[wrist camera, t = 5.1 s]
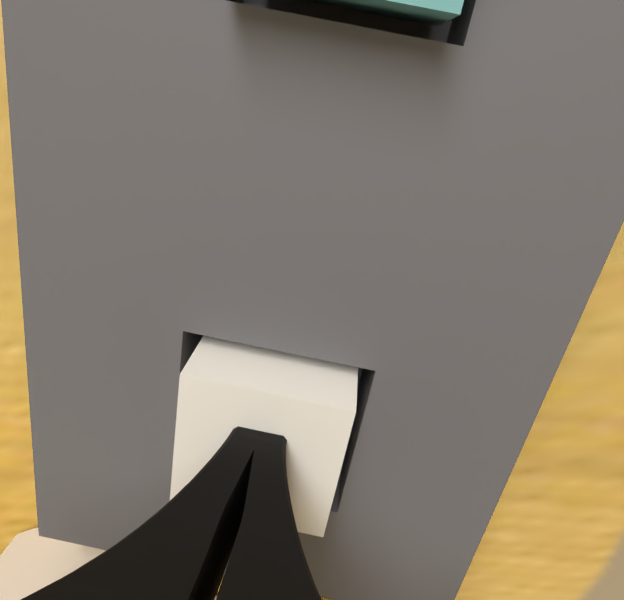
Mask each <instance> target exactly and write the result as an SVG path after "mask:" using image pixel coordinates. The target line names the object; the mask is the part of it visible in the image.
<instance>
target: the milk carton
mask: <svg viewBox="0 0 624 600" xmlns="http://www.w3.org/2000/svg"><path fill="white" fill-rule="evenodd" d="M105 551H106V550H102V549H98V548H93V547H88V546H84V545H79V544H75V543H70V542H65V541H61V540H56V539H52V538H47V537H42V536H39V532H38V527H37V528H34V529H31V530H27V531H24V532H22V533H19V534H17V535H16V536H15V537H14V539H13V540H12V541H11V543H10V544H9V545H8V547H7V548H6V549H5V551H4V552H3V553H2V555H1V556H0V600H20V599H22V598H24V597H26V596H28V595H30V594H32V593H34V592H36V591H38V590H40V589H42V588H44V587H45V586H47V585H49V584H51V583H53V582H55V581H57V580H59V579H61V578H62V577H64V576H66V575H68V574H69V573H71V572H73V571H74V570H76V569H78V568H79V567H81V566H82V565H84V564H86V563H87V562H89V561H90V560H92V559H94V558H95V557H97V556H98V555H100V554H102V553H103V552H105ZM216 598H217V596H215V599H214V600H216Z"/></svg>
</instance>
